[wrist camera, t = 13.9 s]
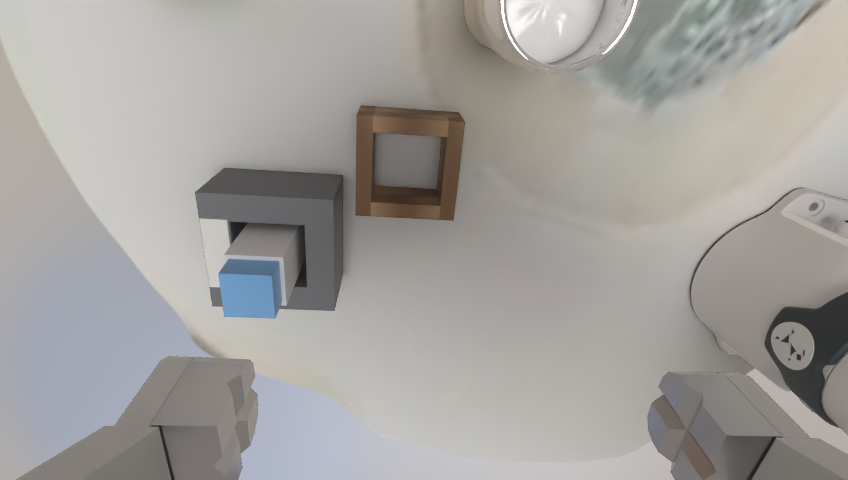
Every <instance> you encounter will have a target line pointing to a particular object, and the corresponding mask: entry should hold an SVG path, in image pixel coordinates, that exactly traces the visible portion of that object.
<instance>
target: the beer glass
mask: <svg viewBox="0 0 848 480" xmlns="http://www.w3.org/2000/svg"><path fill="white" fill-rule="evenodd" d="M639 3H640V0H464V18H465V22H466V25H467V27H468V29H469V31H470V33H471V34H472V36H473V37H474V38H475V39H476V40H477V41H478V42H479V43H480V44H482V45H483V46H485V47H487V48H490V49H493V50H494V51H495V52H496V53H497V54H498V55H499V56H500V57H502V58H503V59H505V60H507V61H508V62H510V63H512V64H514V65H516V66H518V67H521V68H525V69H529V70H533V71H542V72H550V73H571V72H576V71H580V70H583V69H585V68H588V67H590V66H592V65H594V64H596V63H597V62H599V61H600V60H602V59H603V58H605V57H606V56H607V55H608V54H609V53H611V52H612V51H613V50H614V49H615V48H616V47H617V45H618V44H619V43H620V42H621V41H622V39H623V38H624V36H625V35H626V33H627V32H628V30H629V29H630V27H631V25H632V23H633V21H634V18H635V16H636V13H637V10H638V7H639Z"/></svg>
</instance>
